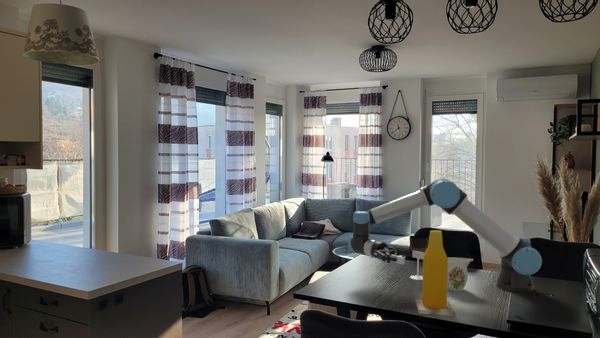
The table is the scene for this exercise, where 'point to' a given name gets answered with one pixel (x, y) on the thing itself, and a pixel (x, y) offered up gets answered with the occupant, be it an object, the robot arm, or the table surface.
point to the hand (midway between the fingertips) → (415, 258)
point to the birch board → (425, 310)
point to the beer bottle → (435, 273)
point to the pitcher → (457, 273)
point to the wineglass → (420, 246)
